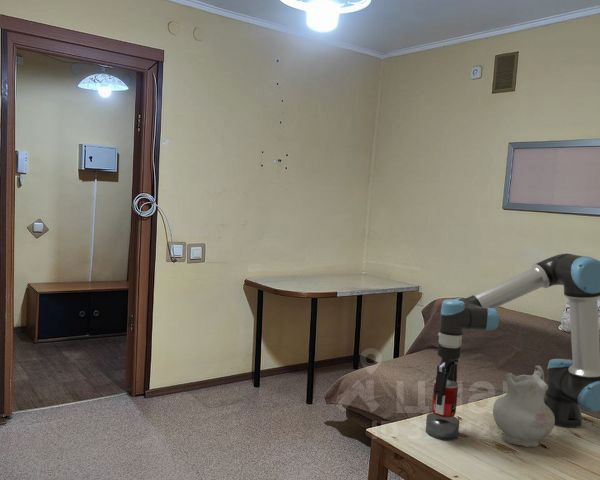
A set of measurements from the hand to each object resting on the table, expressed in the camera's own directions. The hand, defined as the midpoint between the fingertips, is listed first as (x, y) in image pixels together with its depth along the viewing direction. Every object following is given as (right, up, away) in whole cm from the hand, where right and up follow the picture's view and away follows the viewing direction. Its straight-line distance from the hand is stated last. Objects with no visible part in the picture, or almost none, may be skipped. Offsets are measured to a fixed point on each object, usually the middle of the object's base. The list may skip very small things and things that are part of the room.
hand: (443, 409), depth 178 cm
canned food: (0, -1, 0) cm, 1 cm away
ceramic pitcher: (+27, -10, 0) cm, 29 cm away
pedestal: (0, -8, +1) cm, 8 cm away
